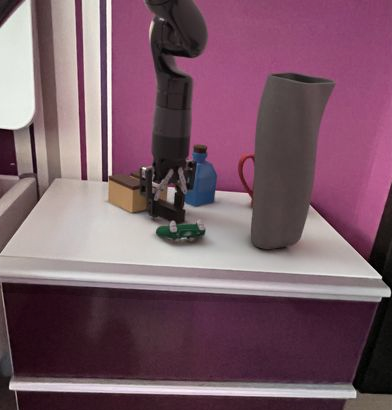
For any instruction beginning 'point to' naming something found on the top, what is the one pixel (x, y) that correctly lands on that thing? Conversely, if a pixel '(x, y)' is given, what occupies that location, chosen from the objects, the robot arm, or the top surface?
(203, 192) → the perfume bottle
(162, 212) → the knife
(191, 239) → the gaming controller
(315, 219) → the top surface
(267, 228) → the vase
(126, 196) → the cake
